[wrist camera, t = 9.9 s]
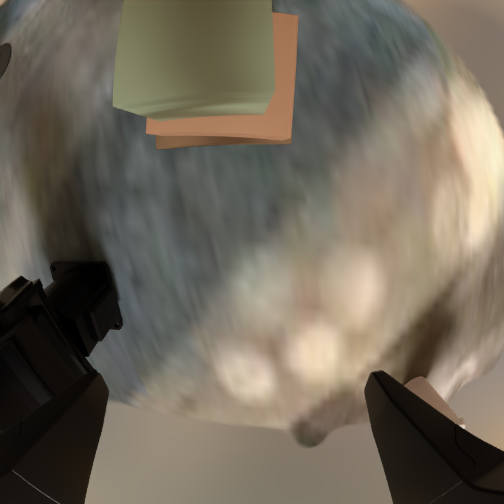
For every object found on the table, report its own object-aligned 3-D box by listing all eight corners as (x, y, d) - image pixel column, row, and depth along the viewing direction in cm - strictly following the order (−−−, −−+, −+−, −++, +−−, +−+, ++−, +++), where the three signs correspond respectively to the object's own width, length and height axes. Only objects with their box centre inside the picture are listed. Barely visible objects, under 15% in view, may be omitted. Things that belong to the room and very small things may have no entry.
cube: (158, 121, 11) (112, 106, 7) (161, 34, 10) (126, -11, 5) (263, 114, 12) (275, 90, 7) (261, 26, 10) (269, -29, 5)
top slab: (163, 136, 14) (146, 133, 12) (174, 33, 12) (161, 13, 9) (282, 140, 15) (290, 138, 12) (289, 36, 12) (298, 15, 10)
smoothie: (411, 366, 25) (463, 458, 12) (441, 369, 26) (489, 445, 13) (381, 402, 27) (417, 491, 14) (413, 402, 28) (450, 478, 15)
